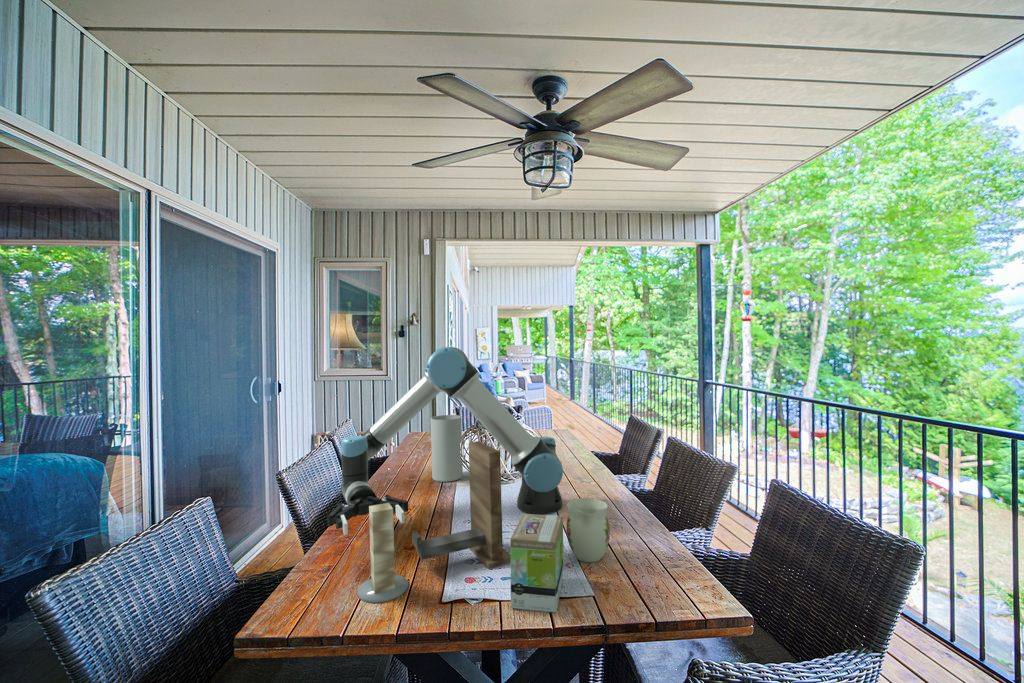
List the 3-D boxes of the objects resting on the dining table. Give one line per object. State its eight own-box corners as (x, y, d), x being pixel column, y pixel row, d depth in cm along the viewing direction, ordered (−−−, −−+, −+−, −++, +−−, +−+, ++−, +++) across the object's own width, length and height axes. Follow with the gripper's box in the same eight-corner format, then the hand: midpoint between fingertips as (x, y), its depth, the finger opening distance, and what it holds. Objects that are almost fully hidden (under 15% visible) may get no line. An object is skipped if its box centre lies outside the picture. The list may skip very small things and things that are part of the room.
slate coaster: (408, 574, 111) (408, 571, 111) (407, 598, 101) (407, 596, 101) (360, 580, 109) (360, 577, 109) (354, 606, 98) (354, 603, 98)
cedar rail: (390, 579, 108) (388, 502, 108) (395, 588, 104) (392, 508, 104) (371, 584, 106) (369, 506, 106) (374, 593, 102) (372, 512, 102)
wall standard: (488, 538, 130) (485, 439, 130) (513, 562, 116) (510, 450, 116) (407, 557, 120) (404, 450, 120) (424, 586, 106) (421, 464, 106)
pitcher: (606, 539, 127) (605, 490, 127) (613, 572, 110) (612, 514, 110) (566, 539, 129) (565, 489, 129) (567, 571, 111) (565, 514, 111)
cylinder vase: (460, 482, 184) (459, 419, 184) (429, 482, 184) (427, 420, 184) (464, 473, 196) (462, 414, 196) (435, 473, 196) (433, 415, 196)
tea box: (558, 614, 94) (556, 541, 94) (509, 609, 96) (507, 538, 96) (564, 576, 108) (562, 513, 108) (522, 573, 110) (520, 511, 110)
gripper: (404, 503, 137) (425, 528, 118) (313, 520, 126) (320, 550, 107) (404, 478, 137) (424, 498, 118) (313, 492, 126) (319, 518, 107)
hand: (375, 523), depth 112 cm, fingers open, 13 cm apart
